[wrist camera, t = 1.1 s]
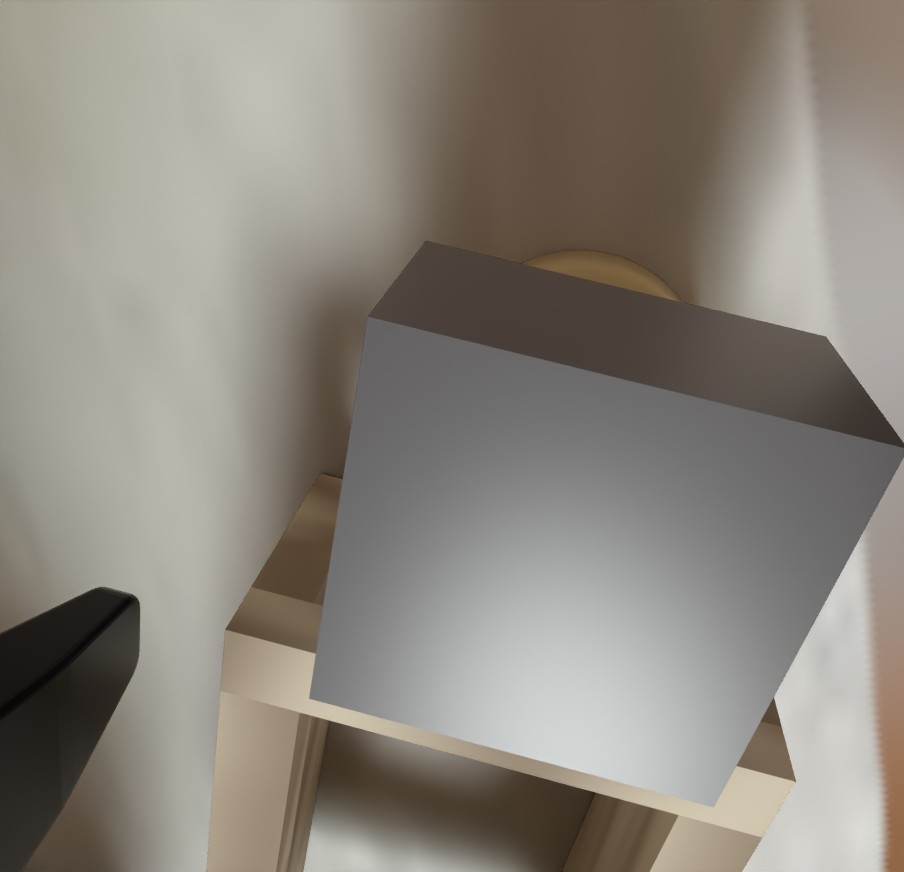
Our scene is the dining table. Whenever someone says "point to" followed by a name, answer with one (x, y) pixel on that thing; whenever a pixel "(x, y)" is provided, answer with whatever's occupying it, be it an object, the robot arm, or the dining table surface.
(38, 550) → the dining table surface
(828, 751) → the dining table surface
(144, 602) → the dining table surface
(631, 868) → the keyhole board
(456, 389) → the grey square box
